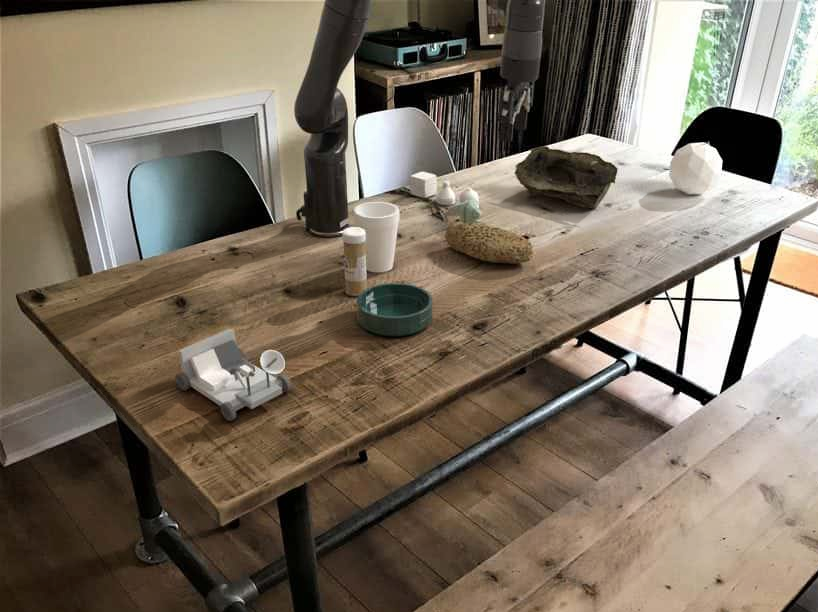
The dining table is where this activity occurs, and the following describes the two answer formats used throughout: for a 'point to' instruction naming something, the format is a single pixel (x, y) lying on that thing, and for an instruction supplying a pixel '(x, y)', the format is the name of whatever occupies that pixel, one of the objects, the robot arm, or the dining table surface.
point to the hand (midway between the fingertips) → (513, 135)
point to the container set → (427, 186)
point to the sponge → (489, 243)
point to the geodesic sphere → (695, 168)
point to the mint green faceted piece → (468, 211)
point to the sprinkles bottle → (354, 260)
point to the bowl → (394, 309)
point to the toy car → (231, 374)
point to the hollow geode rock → (566, 175)
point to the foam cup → (378, 233)
